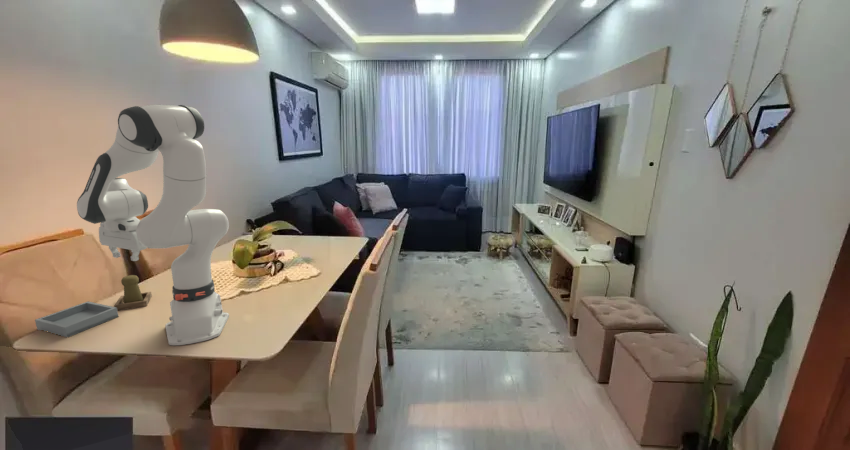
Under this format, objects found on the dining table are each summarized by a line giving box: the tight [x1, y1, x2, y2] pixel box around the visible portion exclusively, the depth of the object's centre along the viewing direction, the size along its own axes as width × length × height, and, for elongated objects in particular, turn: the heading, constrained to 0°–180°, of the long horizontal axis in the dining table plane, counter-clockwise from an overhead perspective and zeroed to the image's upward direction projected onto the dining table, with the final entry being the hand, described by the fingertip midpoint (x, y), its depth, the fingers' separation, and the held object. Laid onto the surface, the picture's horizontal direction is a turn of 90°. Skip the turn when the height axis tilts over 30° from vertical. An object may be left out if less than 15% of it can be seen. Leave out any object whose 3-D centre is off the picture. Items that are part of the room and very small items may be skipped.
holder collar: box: [113, 291, 153, 311], centre depth 141 cm, size 10×10×2 cm
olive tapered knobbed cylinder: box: [120, 274, 144, 303], centre depth 140 cm, size 6×6×11 cm
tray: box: [34, 300, 120, 338], centre depth 126 cm, size 15×15×4 cm
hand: (126, 258), depth 138 cm, fingers open, 8 cm apart
